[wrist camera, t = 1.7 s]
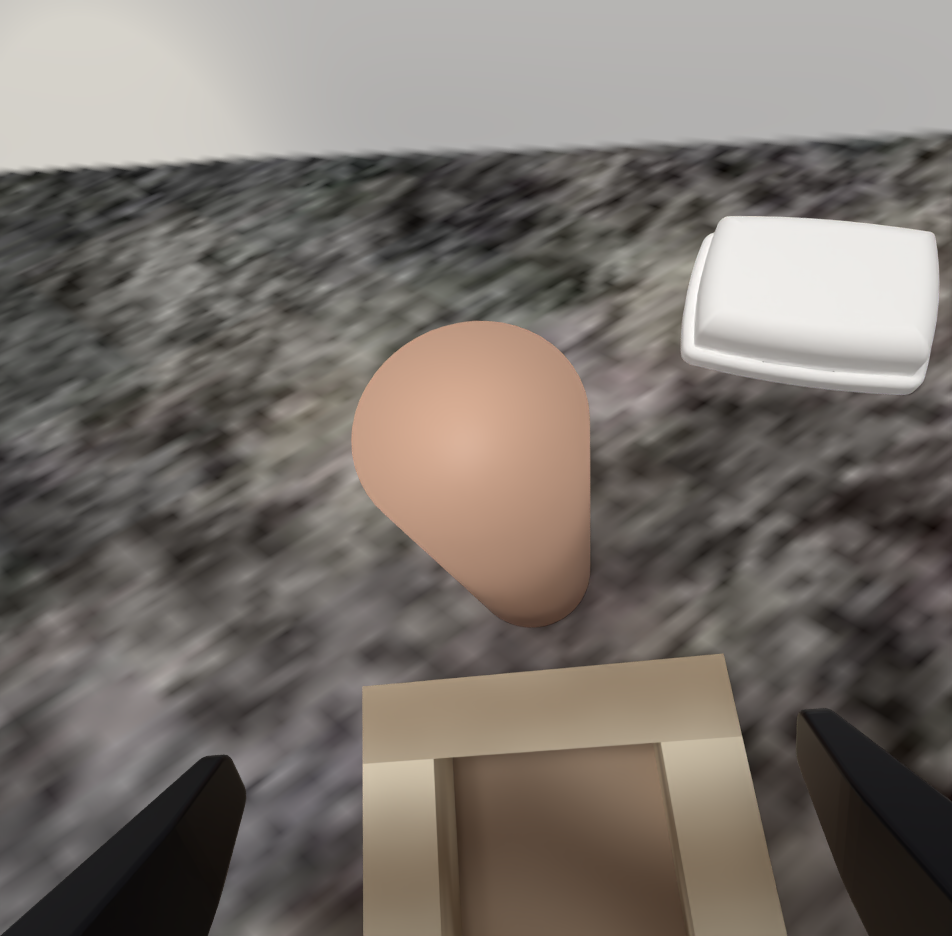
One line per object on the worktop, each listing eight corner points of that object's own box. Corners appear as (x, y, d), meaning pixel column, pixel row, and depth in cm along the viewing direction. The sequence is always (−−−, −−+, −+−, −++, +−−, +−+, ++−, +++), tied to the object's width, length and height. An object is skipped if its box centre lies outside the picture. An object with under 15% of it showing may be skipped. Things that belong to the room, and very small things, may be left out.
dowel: (540, 653, 21) (480, 594, 10) (449, 576, 23) (305, 447, 11) (614, 557, 22) (641, 396, 10) (521, 489, 23) (455, 285, 12)
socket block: (797, 1091, 16) (840, 1172, 13) (400, 1088, 17) (364, 1161, 15) (705, 660, 20) (723, 653, 17) (391, 688, 21) (362, 686, 19)
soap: (670, 371, 25) (680, 331, 22) (697, 240, 27) (708, 189, 24) (919, 408, 22) (963, 368, 19) (926, 261, 24) (967, 207, 22)
